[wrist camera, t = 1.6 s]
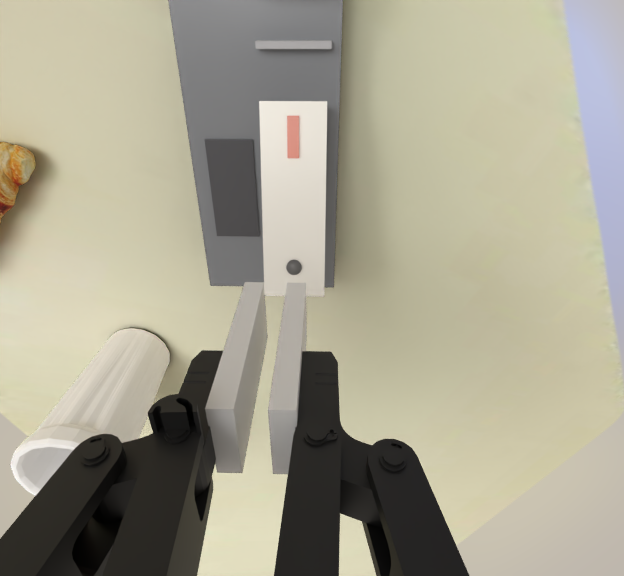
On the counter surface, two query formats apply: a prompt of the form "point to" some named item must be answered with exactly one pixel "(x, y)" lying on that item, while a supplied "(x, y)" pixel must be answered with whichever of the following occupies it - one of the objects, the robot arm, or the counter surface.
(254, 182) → the grey long block
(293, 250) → the rocker
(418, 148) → the counter surface
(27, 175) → the croissant
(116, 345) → the cup
